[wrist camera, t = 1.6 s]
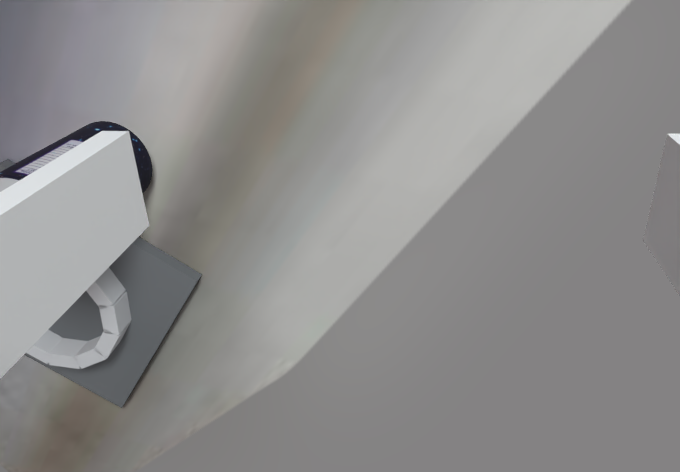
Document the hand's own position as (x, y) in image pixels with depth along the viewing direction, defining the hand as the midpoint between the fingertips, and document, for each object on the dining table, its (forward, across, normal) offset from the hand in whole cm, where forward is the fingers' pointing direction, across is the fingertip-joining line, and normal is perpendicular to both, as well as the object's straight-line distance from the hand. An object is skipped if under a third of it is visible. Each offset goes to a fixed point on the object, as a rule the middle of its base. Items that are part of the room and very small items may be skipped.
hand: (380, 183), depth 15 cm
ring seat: (+22, -27, -19) cm, 39 cm away
